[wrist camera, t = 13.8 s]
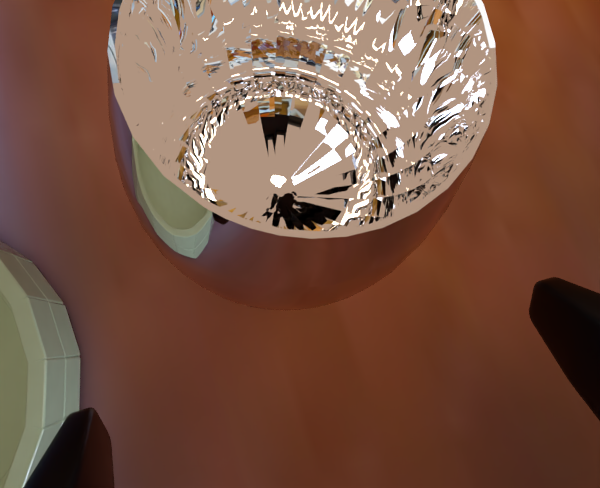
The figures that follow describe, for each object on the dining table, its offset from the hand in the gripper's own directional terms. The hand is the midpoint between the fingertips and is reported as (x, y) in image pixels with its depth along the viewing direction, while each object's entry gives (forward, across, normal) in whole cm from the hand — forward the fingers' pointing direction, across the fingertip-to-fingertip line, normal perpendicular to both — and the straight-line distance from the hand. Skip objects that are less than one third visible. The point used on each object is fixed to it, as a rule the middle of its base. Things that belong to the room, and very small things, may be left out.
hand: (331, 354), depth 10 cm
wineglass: (+8, 0, +3) cm, 9 cm away
